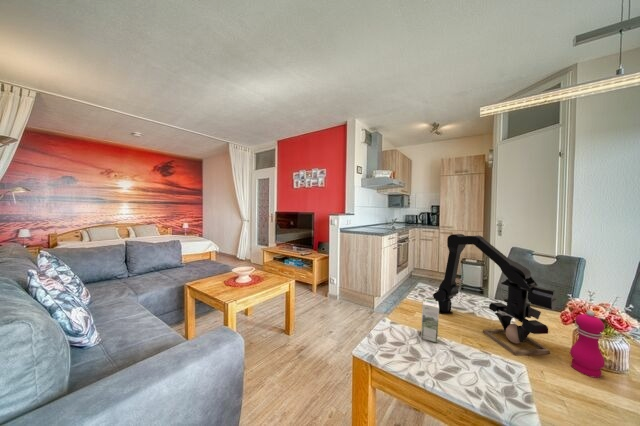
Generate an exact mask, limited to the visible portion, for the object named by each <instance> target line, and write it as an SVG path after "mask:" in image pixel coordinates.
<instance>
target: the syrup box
mask: <svg viewBox="0 0 640 426" xmlns="http://www.w3.org/2000/svg"><path fill="white" fill-rule="evenodd" d="M421 313H422V314H421V331H420V333H421V335H420V337H421V340H424V341H428V342H433V343H436V344H437V343H438V333H439V317H440V316H439V315H440V313H439V305H438V301H435V300H431V299H426V298H422V311H421Z"/></svg>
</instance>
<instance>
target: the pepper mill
mask: <svg viewBox="0 0 640 426" xmlns="http://www.w3.org/2000/svg"><path fill="white" fill-rule="evenodd" d="M595 315H596V313H595V312H594V311H593V310H586V313H581V314H577V316H575V323H576V325H577V326H576V328H577V329H576V331H577V333H578V337H577V340H576V341H575V343H573V345H572V346H571V348H570V352H569V354H570V356H571V358H572V359H571V363H570V364H571V367H572V368H573V369H575V370H576V371H577V372H579V373H580V374H583V375H586V376H588V377H591V376H592V377H593V378H600V377H601V376H602V370H601V369H602V368H604V367H605V357H604V356H603V353H602V352H601V350H600V346H599V340H600V339H602V332H604V331H605V328H606V327H605V324H604V322H603V320H601V318H599V317H596V316H595Z"/></svg>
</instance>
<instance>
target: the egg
mask: <svg viewBox="0 0 640 426" xmlns="http://www.w3.org/2000/svg"><path fill="white" fill-rule="evenodd" d="M517 326H519V325H518V324H516V323H511V324H510V325H509V326H508V327H507V328H506V333H505V336H506V338H507V339H508V341H510V342H511V343H513V344H521V343H520V341H519V337H518V330H517Z"/></svg>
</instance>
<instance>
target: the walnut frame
mask: <svg viewBox="0 0 640 426" xmlns="http://www.w3.org/2000/svg"><path fill="white" fill-rule="evenodd" d="M482 333H483V334H484V335H486V336H487V337H488V338H490V339H491V340H492V341H493V342H495V343H496V344H498V345H499V346H501V347H502V348H504V349H505V350H506V351H508V352H509V353H510V354H512V355H513V356H514V357H515V356H534V355H551V350H550V349H548V348H547V347H545V346H544V345H542V344H540V343H538V342H536V341H534V340H533V339H531V338H530V337H529V336H527V338H526V339H525V341H526V342H527V343H528V344H531V345H532V346H534V347H535V349H517V350H516V349H514V348H512V347H511V346H509V345H508V344H506V343H505V342H504V341H502V340H501V339H499V338H498V337H496V336H495V335H494V334H506V332H505V330H504V328H500V329H499V328H498V329H497V328H496V329H493V328H491V329H482ZM536 348H537V349H536Z"/></svg>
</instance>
